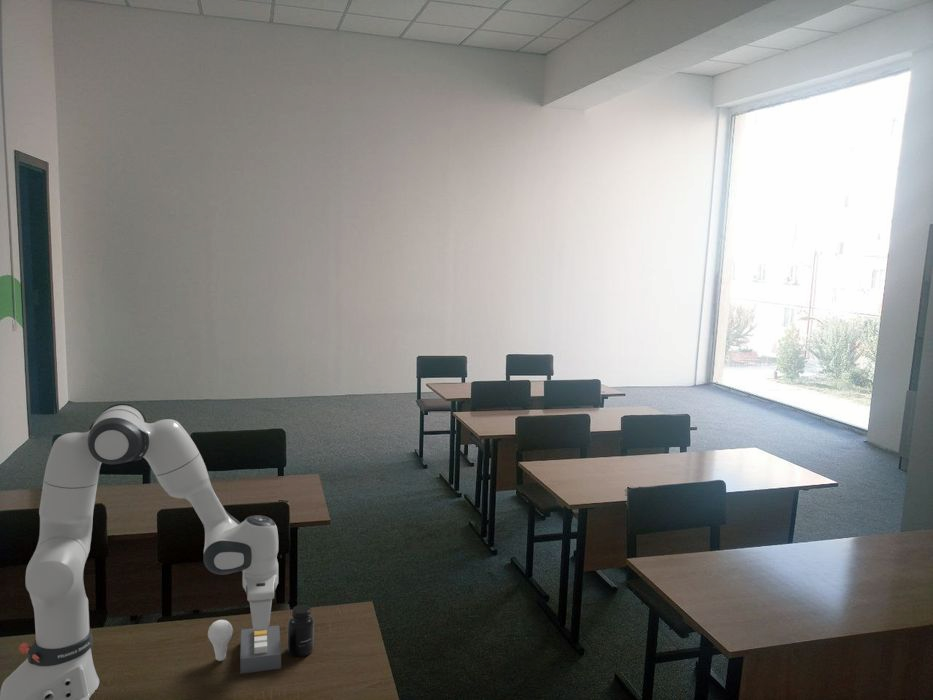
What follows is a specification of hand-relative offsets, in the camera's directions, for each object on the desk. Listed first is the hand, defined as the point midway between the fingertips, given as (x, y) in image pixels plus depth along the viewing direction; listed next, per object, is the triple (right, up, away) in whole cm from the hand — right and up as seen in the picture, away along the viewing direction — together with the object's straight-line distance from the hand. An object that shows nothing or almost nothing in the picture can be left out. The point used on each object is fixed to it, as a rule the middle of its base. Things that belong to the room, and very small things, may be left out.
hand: (260, 627), depth 181 cm
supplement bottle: (+9, -9, +7) cm, 15 cm away
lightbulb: (-11, -9, +1) cm, 14 cm away
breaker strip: (-2, -8, +8) cm, 12 cm away
